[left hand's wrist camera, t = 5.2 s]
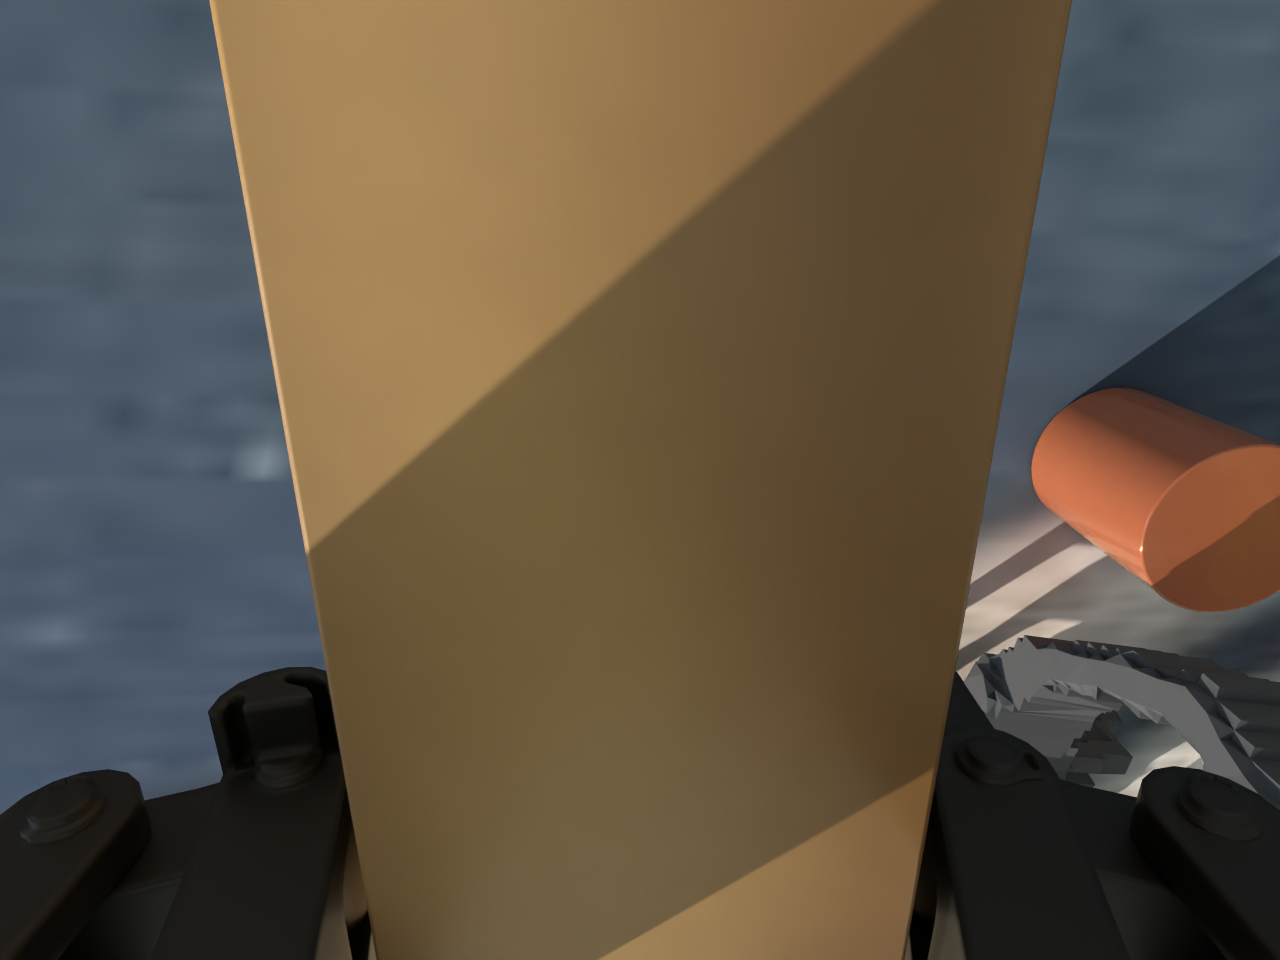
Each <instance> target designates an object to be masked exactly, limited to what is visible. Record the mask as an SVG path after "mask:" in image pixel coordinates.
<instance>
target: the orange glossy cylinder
mask: <svg viewBox="0 0 1280 960" xmlns="http://www.w3.org/2000/svg"><path fill="white" fill-rule="evenodd" d="M1032 480H1033V485H1034V488H1035V491H1036V493H1037V495H1038V497H1039V499H1040V500H1041V501H1042V503H1043V504H1044V505H1045V506H1046V507H1047V508H1048V509H1049V510H1050V511H1051V512H1052V513H1054V514H1055V515H1056V516H1058V517H1059V518H1060V519H1061V520H1063V521H1064V522H1065V523H1067V524H1068V525H1069V526H1070V527H1072V528H1073V529H1074V530H1076V531H1077V532H1078V533H1080V534H1081V535H1082V536H1083V537H1085V538H1086V539H1087V540H1089V541H1090V542H1091V543H1093V544H1094V545H1095V546H1096V547H1098V548H1099V549H1100V550H1102V551H1103V552H1104V553H1106V554H1107V555H1108V556H1109V557H1111V558H1112V559H1113V560H1115V561H1116V562H1117V563H1118V564H1120V565H1121V566H1122V567H1124V568H1125V569H1126V570H1128V571H1129V572H1130V573H1131V574H1133V575H1134V576H1135V577H1137V578H1138V579H1139V580H1141V581H1142V582H1143V583H1144V584H1146V585H1147V586H1148V587H1150V588H1151V589H1152V590H1154V591H1155V592H1156V593H1157V594H1159V595H1160V596H1161V597H1163V598H1164V599H1166V600H1167V601H1168V602H1170V603H1172V604H1175V605H1177V606H1179V607H1182V608H1185V609H1189V610H1194V611H1199V612H1224V611H1230V610H1235V609H1239V608H1243V607H1247V606H1249V605H1252V604H1255V603H1257V602H1260V601H1262V600H1264V599H1266V598H1268V597H1270V596H1272V595H1273V594H1275V593H1276V592H1278V591H1280V444H1277V443H1275V442H1272V441H1270V440H1267V439H1265V438H1262V437H1259V436H1257V435H1254V434H1252V433H1249V432H1247V431H1244V430H1241V429H1239V428H1236V427H1234V426H1231V425H1229V424H1226V423H1223V422H1221V421H1218V420H1216V419H1213V418H1211V417H1208V416H1205V415H1203V414H1200V413H1198V412H1195V411H1193V410H1190V409H1187V408H1185V407H1182V406H1180V405H1177V404H1175V403H1172V402H1170V401H1167V400H1164V399H1162V398H1159V397H1157V396H1154V395H1152V394H1149V393H1146V392H1143V391H1141V390H1137V389H1132V388H1110V389H1105V390H1100V391H1097V392H1093V393H1090V394H1088V395H1086V396H1083V397H1081V398H1079V399H1078V400H1076V401H1074V402H1072V403H1071V404H1070V405H1068V406H1067V407H1065V408H1064V409H1063V410H1062V411H1061V412H1059V413H1058V414H1057V415H1056V416H1055V417H1054V418H1053V419H1052V421H1051V422H1050V423H1049V424H1048V426H1047V427H1046V428H1045V430H1044V431H1043V433H1042V435H1041V436H1040V438H1039V440H1038V443H1037V445H1036V448H1035V451H1034V454H1033V459H1032Z"/></svg>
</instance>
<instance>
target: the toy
mask: <svg viewBox="0 0 1280 960" xmlns="http://www.w3.org/2000/svg"><path fill="white" fill-rule="evenodd" d="M964 683H965V685H966V686H967V688H968V689H969V691H970V692H971V694H972V695H973V697H974V698H975V700H976V702H977V703H978V705H979V706H980V708H981V709H982V711H983V712H984V714H985V715H986V717H987V718H988V720H989V721H990V723H991V724H992V726H993V727H994V729H997V730H1001V731H1005V732H1007V733H1009V734H1011V735H1013V736H1015V737H1017V738H1019V739H1021V740H1023V741H1026V742H1028V743H1029V744H1030V745H1031V746H1033V747H1034V748H1035V749H1036V750H1038V751H1039V752H1040V753H1041V754H1043V755H1044V756H1045V757H1046V758H1047V759H1048V761H1049V762H1050V764H1051V765H1052V767H1053V768H1054V770H1055V771H1056V773H1057V775H1058V777H1059V779H1062V780H1065V781H1069V782H1072V783H1076V784H1079V785H1083V786H1087V787H1093V786H1094V785H1095V784H1094V782H1093V781H1092V779H1091V778H1090V776H1089V775H1088V773H1095V774H1125V773H1126V771H1127V768H1128V766H1129V764H1130V762H1131V760H1132V758H1133V757H1132V756H1131V755H1130V754H1129V753H1128V751H1127V750H1126V749H1125V748H1124V747H1123V746H1122V745H1121V744H1120V743H1119V742H1118V740H1117V739H1116V737H1115V736H1114V734H1115V733H1116V731H1117V730H1118V728H1119V726H1120V725H1121V723H1122V722H1123V721H1122V720H1121V719H1120V717H1119V716H1118V714H1117V713H1116V712H1115V710H1116V711H1119V710H1120V707H1121V704H1125V705H1126V706H1127V707H1129V708H1130V709H1131V710H1132V711H1133V712H1134V713H1135V714H1136V715H1137V716H1138V717H1139V718H1140V719H1148V720H1153V721H1154V722H1156V723H1157V724H1163V725H1172V726H1173V727H1174V728H1175V729H1176V730H1177V732H1178V733H1179V734H1180V735H1181V736H1182V737H1183V738H1184V739H1185V740H1186V741H1187V742H1188V743H1189V744H1190V745H1191V746H1192V747H1193V748H1194V749H1195V750H1196V751H1197V752H1198V753H1199V754H1200V756H1201V757H1202V759H1203V761H1204V766H1203V771H1206V772H1210V773H1213V774H1217V775H1220V776H1222V777H1225V778H1228V779H1230V780H1232V781H1234V782H1236V783H1238V784H1240V785H1242V786H1244V787H1246V788H1248V789H1250V790H1252V791H1254V792H1256V793H1258V794H1259V795H1260V796H1262V797H1263V798H1264V799H1266V800H1267V801H1268V802H1269V803H1271V804H1272V805H1273V806H1275V807H1276V808H1277V809H1279V810H1280V682H1272V681H1269V680H1267V679H1259V678H1251V677H1248V676H1246V675H1245V674H1244V673H1243V672H1241V671H1240V670H1239V669H1223V668H1221V667H1220V666H1219V665H1217V664H1216V663H1215V662H1214V661H1212V660H1208V659H1200V658H1192V657H1184V656H1178V655H1177V654H1173V653H1165V652H1161V651H1155V650H1147V649H1144V648H1136V647H1128V646H1120V645H1112V644H1104V643H1096V642H1088V641H1080V640H1075V642H1073V641H1065V640H1058V639H1050V638H1042V637H1035V636H1027V635H1024V638H1018V639H1017V642H1016V644H1015V647H1014V648H1012V647H1009V649H1008V650H1004V649H1003V650H1002V651H1001V652H1000V653H999V654H998V655H995V654H988V653H983V655H982V656H981V657H980V659H979V660H978V661H977V662H975V664H974V666H973V668H972V669H971V671H970V673H969V675H968V676H967V678H966V680H965V681H964ZM1084 731H1086V733H1087V735H1088V736H1089V737H1090V739H1091V740H1085V741H1083V742H1076V741H1075V740H1074V738H1078V739H1080V738H1081V736H1082V734H1083V733H1084Z"/></svg>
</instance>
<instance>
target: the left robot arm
mask: <svg viewBox="0 0 1280 960" xmlns="http://www.w3.org/2000/svg"><path fill="white" fill-rule="evenodd" d="M208 714H209V718H210V722H211V726H212V730H213V734H214V738H215V743H216V747H217V751H218V755H219V759H220V763H221V767H222V771H223V776H222V779H221V781H220V782H219V783H216V784H212V785H209V786H205V787H202V788H198V789H194V790H189V791H185V792H181V793H176V794H172V795H167V796H163V797H158V798H154V799H149V800H145V801H144V797H143V794H142V791H141V787H140V784H139V782H138V781H137V780H136V779H135V778H133V777H132V776H131V775H130V774H129V773H126V772H121V771H115V770H109V769H107V770H98V771H90V772H82V773H79V774H76V775H72V776H69V777H66V778H63V779H60V780H57V781H54V782H52V783H50V784H48V785H46V786H44V787H42V788H40V789H38V790H36V791H34V792H32V793H30V794H28V795H26V796H24V797H23V798H22V799H21V800H19V801H18V802H17V803H15V804H14V805H13V806H11V807H10V808H9V809H8V810H6V811H5V812H4V813H2V814H1V815H0V960H376V954H375V948H374V942H373V937H372V931H371V925H370V919H369V914H368V908H367V902H366V896H365V891H364V885H363V879H362V874H361V868H360V862H359V856H358V851H357V845H356V839H355V833H354V828H353V822H352V816H351V810H350V805H349V799H348V793H347V787H346V782H345V776H344V770H343V764H342V759H341V753H340V747H339V741H338V736H337V730H336V724H335V718H334V713H333V707H332V701H331V695H330V690H329V684H328V678H327V672H326V671H324V670H320V669H317V668H313V667H287V668H283V669H278V670H274V671H269V672H265V673H262V674H259V675H257V676H254V677H252V678H250V679H247V680H245V681H243V682H240V683H238V684H237V685H236V686H234V687H233V688H231V689H230V690H228V691H227V692H225V693H224V694H223V695H221V696H220V697H219V698H218V699H217V701H216V702H215V703H214V704H213V706H212V707H211V708H210V710H209V711H208ZM904 960H1280V810H1279V809H1277V808H1276V807H1275V806H1273V805H1272V804H1271V803H1269V802H1268V801H1267V800H1266V799H1264V798H1263V797H1262V796H1260V795H1259V794H1258V793H1256V792H1254V791H1252V790H1250V789H1248V788H1246V787H1244V786H1242V785H1240V784H1238V783H1236V782H1234V781H1232V780H1230V779H1228V778H1225V777H1222V776H1220V775H1217V774H1213V773H1210V772H1206V771H1203V770H1200V769H1193V768H1184V767H1176V766H1172V767H1166V768H1160V769H1155V770H1153V771H1152V772H1150V773H1149V774H1148V775H1147V776H1146V777H1145V778H1143V779H1142V783H1141V786H1140V789H1139V793H1138V796H1137V797H1132V796H1128V795H1123V794H1119V793H1114V792H1110V791H1105V790H1101V789H1096V788H1092V787H1087V786H1083V785H1079V784H1076V783H1072V782H1069V781H1065V780H1062V779H1059V777H1058V775H1057V773H1056V771H1055V770H1054V768H1053V767H1052V765H1051V764H1050V762H1049V761H1048V759H1047V758H1046V757H1045V756H1044V755H1043V754H1041V753H1040V752H1039V751H1038V750H1036V749H1035V748H1034V747H1033V746H1031V745H1030V744H1029V743H1028V742H1026V741H1023V740H1021V739H1019V738H1017V737H1015V736H1013V735H1011V734H1009V733H1007V732H1005V731H1001V730H997V729H994V727H993V726H992V724H991V723H990V721H989V720H988V718H987V717H986V715H985V714H984V712H983V711H982V709H981V708H980V706H979V705H978V703H977V702H976V700H975V698H974V697H973V695H972V694H971V692H970V691H969V689H968V688H967V686H966V685H965V683H964V682H963V680H962V679H961V677H960V676H959V674H958V673H957V672H955V673H954V679H953V684H952V690H951V696H950V702H949V707H948V713H947V719H946V725H945V730H944V736H943V742H942V747H941V753H940V759H939V765H938V770H937V776H936V782H935V788H934V793H933V799H932V805H931V810H930V816H929V822H928V828H927V833H926V839H925V845H924V851H923V856H922V862H921V868H920V873H919V879H918V885H917V891H916V896H915V902H914V908H913V914H912V919H911V925H910V931H909V936H908V942H907V948H906V954H905V959H904Z"/></svg>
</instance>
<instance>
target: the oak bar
mask: <svg viewBox="0 0 1280 960" xmlns="http://www.w3.org/2000/svg"><path fill="white" fill-rule="evenodd" d="M1071 3H1072V0H210V6H211V12H212V17H213V23H214V29H215V35H216V40H217V46H218V52H219V58H220V63H221V69H222V75H223V81H224V86H225V92H226V98H227V104H228V109H229V115H230V121H231V127H232V132H233V138H234V144H235V150H236V155H237V161H238V167H239V173H240V178H241V184H242V190H243V196H244V201H245V207H246V213H247V219H248V224H249V230H250V236H251V242H252V247H253V253H254V259H255V265H256V270H257V276H258V282H259V288H260V293H261V299H262V305H263V310H264V316H265V322H266V328H267V333H268V339H269V345H270V351H271V356H272V362H273V368H274V374H275V379H276V385H277V391H278V397H279V402H280V408H281V414H282V420H283V425H284V431H285V437H286V443H287V448H288V454H289V460H290V466H291V471H292V477H293V483H294V489H295V494H296V500H297V506H298V512H299V517H300V523H301V529H302V535H303V540H304V546H305V552H306V558H307V563H308V569H309V575H310V581H311V586H312V592H313V598H314V603H315V609H316V615H317V621H318V626H319V632H320V638H321V644H322V649H323V655H324V661H325V667H326V672H327V678H328V684H329V690H330V695H331V701H332V707H333V713H334V718H335V724H336V730H337V736H338V741H339V747H340V753H341V759H342V764H343V770H344V776H345V782H346V787H347V793H348V799H349V805H350V810H351V816H352V822H353V828H354V833H355V839H356V845H357V851H358V856H359V862H360V868H361V874H362V879H363V885H364V891H365V896H366V902H367V908H368V914H369V919H370V925H371V931H372V937H373V942H374V948H375V954H376V960H904V959H905V954H906V948H907V942H908V936H909V931H910V925H911V919H912V914H913V908H914V902H915V896H916V891H917V885H918V879H919V873H920V868H921V862H922V856H923V851H924V845H925V839H926V833H927V828H928V822H929V816H930V810H931V805H932V799H933V793H934V788H935V782H936V776H937V770H938V765H939V759H940V753H941V747H942V742H943V736H944V730H945V725H946V719H947V713H948V707H949V702H950V696H951V690H952V684H953V679H954V673H955V667H956V662H957V656H958V650H959V644H960V639H961V633H962V627H963V622H964V616H965V610H966V604H967V599H968V593H969V587H970V581H971V576H972V570H973V564H974V559H975V553H976V547H977V541H978V536H979V530H980V524H981V518H982V513H983V507H984V501H985V496H986V490H987V484H988V478H989V473H990V467H991V461H992V455H993V450H994V444H995V438H996V433H997V427H998V421H999V415H1000V410H1001V404H1002V398H1003V392H1004V387H1005V381H1006V375H1007V370H1008V364H1009V358H1010V352H1011V347H1012V341H1013V335H1014V329H1015V324H1016V318H1017V312H1018V307H1019V301H1020V295H1021V289H1022V284H1023V278H1024V272H1025V267H1026V261H1027V255H1028V249H1029V244H1030V238H1031V232H1032V226H1033V221H1034V215H1035V209H1036V204H1037V198H1038V192H1039V186H1040V181H1041V175H1042V169H1043V163H1044V158H1045V152H1046V146H1047V141H1048V135H1049V129H1050V123H1051V118H1052V112H1053V106H1054V100H1055V95H1056V89H1057V83H1058V78H1059V72H1060V66H1061V60H1062V55H1063V49H1064V43H1065V37H1066V32H1067V26H1068V20H1069V15H1070V9H1071Z"/></svg>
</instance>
